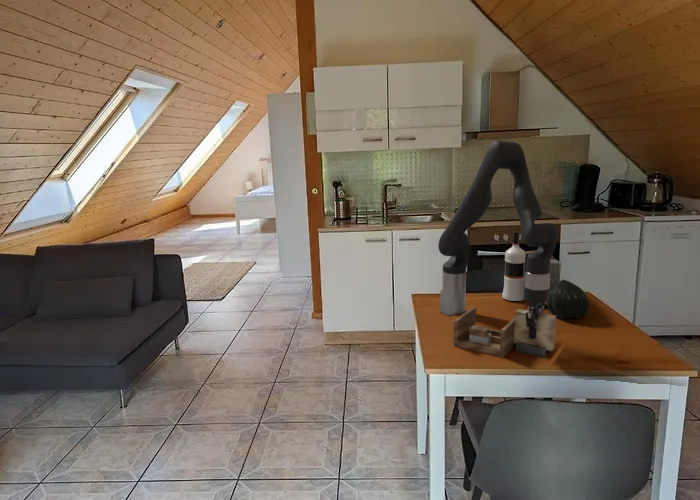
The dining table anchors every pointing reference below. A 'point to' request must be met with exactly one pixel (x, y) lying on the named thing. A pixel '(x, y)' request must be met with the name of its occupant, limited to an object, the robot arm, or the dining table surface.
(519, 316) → the beige rectangular slab
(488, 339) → the offcut
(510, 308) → the dining table surface
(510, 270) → the vodka
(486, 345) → the offcut
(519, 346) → the stand
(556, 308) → the squash
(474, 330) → the offcut
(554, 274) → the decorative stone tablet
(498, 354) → the rack
